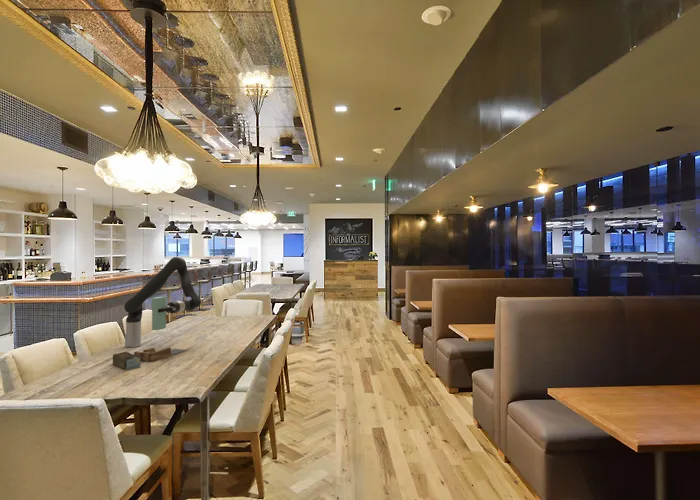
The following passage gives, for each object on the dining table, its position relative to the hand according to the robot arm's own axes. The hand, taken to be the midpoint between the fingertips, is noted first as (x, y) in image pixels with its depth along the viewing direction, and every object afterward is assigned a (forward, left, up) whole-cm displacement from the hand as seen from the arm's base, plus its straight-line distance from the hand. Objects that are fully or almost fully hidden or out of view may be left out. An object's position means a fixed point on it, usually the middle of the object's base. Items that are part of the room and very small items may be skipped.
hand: (155, 310), depth 239 cm
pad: (+8, +14, -30) cm, 34 cm away
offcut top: (-4, +2, -27) cm, 27 cm away
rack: (-2, +2, -30) cm, 30 cm away
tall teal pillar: (+1, +2, -12) cm, 12 cm away
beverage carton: (-12, -14, -30) cm, 35 cm away
